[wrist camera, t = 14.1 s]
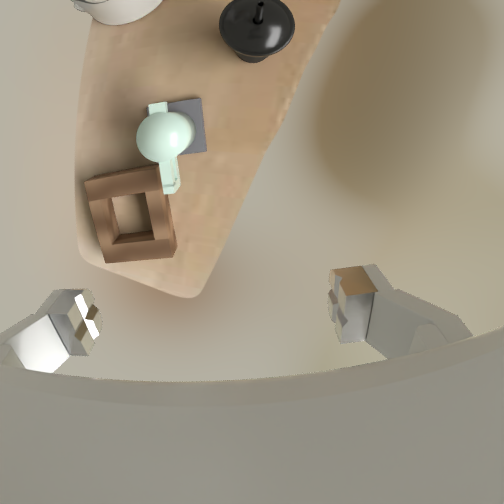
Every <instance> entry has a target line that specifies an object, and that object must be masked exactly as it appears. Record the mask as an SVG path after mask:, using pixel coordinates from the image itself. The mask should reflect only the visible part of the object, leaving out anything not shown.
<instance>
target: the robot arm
mask: <svg viewBox="0 0 504 504" xmlns="http://www.w3.org/2000/svg"><path fill="white" fill-rule="evenodd" d="M71 1H72V2H74V7H75V8H76V9H77V10H79V11H83V12H88V13H89V14H90V15H91V16H92V17H93V18H94V19H95V20H97V21H98V22H100V23H103V24H107V25H122V24H126V23H130V22H133V21H135V20H138V19H140V18H142V17H144V16H145V15H147V14H148V13H150V12H151V11H152V10H154V9H155V8H156V7H157V6H158V5H159V4H160V3H161V2H162V1H163V0H71ZM329 283H330V285H331V288H332V289H331V290H330V291H329V293H328V310H329V314H330V318H331V320H332V321H333V322H334V323H336V325H335V331H336V334H337V336H338V339H339V342H340V344H343V343H351V342H359V341H366V342H367V343H368V344H370V345H371V346H372V347H373V348H375V349H376V350H377V351H379V352H380V353H381V354H382V355H384V356H385V357H386V358H388V359H387V360H383V361H378V362H373V363H367V364H362V365H358V366H352V367H346V368H340V369H334V370H327V371H320V372H314V373H305V374H297V375H289V376H279V377H269V378H257V379H243V380H227V381H226V380H225V381H201V382H200V381H199V382H197V381H196V382H156V381H129V380H112V379H99V378H89V377H79V376H69V375H62V374H55V373H53V372H54V371H55V370H56V369H57V368H58V367H59V366H60V365H61V364H62V363H63V362H64V361H65V360H67V359H68V358H69V357H70V355H75V356H76V355H77V356H89V354H90V352H91V349H92V348H93V346H94V343H95V342H94V338H95V337H97V336H98V335H99V334H100V331H101V329H102V317H101V313H100V311H99V309H98V308H97V307H96V306H95V305H94V304H93V303H94V296H93V294H92V292H91V291H90V290H89V289H59V290H54V291H53V292H52V293H51V294H50V296H49V297H48V298H47V299H46V301H45V302H44V303H43V304H42V306H41V307H40V308H39V309H38V311H37V312H36V313H35V314H31V315H30V316H28V317H27V318H25V319H23V320H22V321H20V322H18V323H17V324H15V325H13V326H12V327H10V328H9V329H7V330H6V331H4V332H2V333H1V334H0V504H504V326H502V327H499V328H496V329H493V330H491V331H488V332H485V333H482V334H479V335H476V336H473V334H472V333H471V332H470V331H469V329H468V328H467V327H466V326H465V324H464V323H463V322H462V320H461V319H460V318H459V317H458V316H457V315H455V314H453V313H451V312H449V311H446V310H444V309H442V308H440V307H438V306H435V305H433V304H431V303H429V302H427V301H424V300H422V299H420V298H418V297H415V296H413V295H411V294H409V293H407V292H404V291H402V290H400V289H394V288H393V287H392V285H391V284H390V283H389V281H388V280H387V279H386V277H385V276H384V275H383V273H382V272H381V271H380V269H379V268H378V267H377V265H375V264H369V265H362V266H355V267H348V268H341V269H333V270H330V274H329Z"/></svg>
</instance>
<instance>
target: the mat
mask: <svg viewBox="0 0 504 504" xmlns="http://www.w3.org/2000/svg"><path fill="white" fill-rule="evenodd" d="M167 108H168V112H183V113H186V114H187V115H189V116H190V117H191V118H192V119H193V121H194V122H195V125H196V137H195V140H194V141H193V143H192V144H191V145H190V146H189V147H188V148H187V149H185V150H184V151H183V152H181V153H180V154H178V155H183V154H191V153H198V152H206V151H207V147H206V139H205V130H204V121H203V112H202V102H201V98H198V99H191V100H184V101H178V102H173V103H167ZM147 116H150V114H149V107H147Z"/></svg>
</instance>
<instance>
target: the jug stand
mask: <svg viewBox="0 0 504 504" xmlns="http://www.w3.org/2000/svg"><path fill="white" fill-rule="evenodd" d="M84 185H85V189H86V194H87V198H88V202H89V206H90V210H91V214H92V218H93V222H94V225H95V229H96V233H97V236H98V240H99V243H100V247H101V250H102V253H103V257H104V260H105V263H116V262H127V261H138V260H149V259H161V258H172V257H173V255H174V253H175V251H176V248H177V242H176V237H175V232H174V227H173V221H172V216H171V211H170V205H169V199H168V194H164V193H163V187H162V181H161V174H160V168H159V164H155V165H149V166H143V167H137V168H132V169H126V170H121V171H116V172H111V173H106V174H101V175H97V176H94V177H92V178H90V179H88V180H87V181H85V182H84ZM143 192H145V195H146V200H147V205H148V210H149V215H150V219H151V224H152V229H153V231H146V232H138V233H130V234H121V235H120V232H119V228H118V224H117V220H116V216H115V212H114V207H113V203H112V199H111V198H112V197H118V196H124V195H130V194H136V193H143Z"/></svg>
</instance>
